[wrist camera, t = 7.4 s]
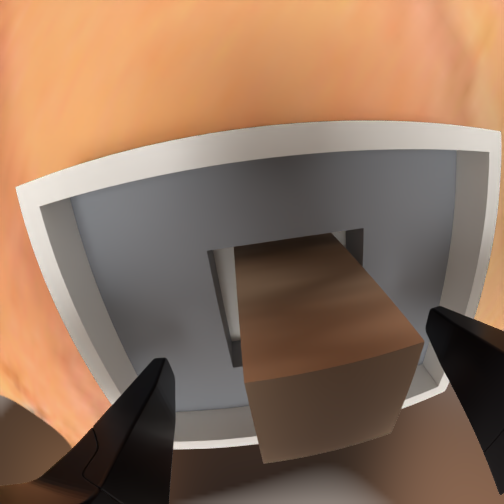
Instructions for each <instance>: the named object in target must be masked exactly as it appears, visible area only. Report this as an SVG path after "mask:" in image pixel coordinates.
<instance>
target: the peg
mask: <svg viewBox="0 0 504 504" xmlns="http://www.w3.org/2000/svg"><path fill="white" fill-rule="evenodd" d="M234 260H235V274H236V288H237V301H238V314H239V327H240V339H241V351H242V363H243V375H244V384H245V389H246V393H247V397H248V402H249V406H250V410H251V415H252V419H253V423H254V427H255V431H256V435H257V440H258V444H259V448H260V452H261V456H262V460H263V463H271V462H278V461H284V460H290V459H296V458H301V457H306V456H311V455H316V454H320V453H325V452H329V451H333V450H336V449H341V448H344V447H348V446H352V445H355V444H358V443H362V442H365V441H368V440H372V439H375V438H378V437H380V436H383V435H386V434H389V433H391V431H392V429H393V427H394V425H395V423H396V420H397V418H398V416H399V413H400V411H401V408H402V406H403V404H404V401H405V398H406V396H407V393H408V391H409V388H410V385H411V382H412V380H413V377H414V374H415V371H416V368H417V365H418V362H419V359H420V356H421V352H422V349H423V346H424V342H425V341H424V340H423V338H422V337H421V336H420V335H419V333H418V332H417V331H416V330H415V328H414V327H413V326H412V325H411V323H410V322H409V321H408V320H407V318H406V317H405V316H404V315H403V314H402V312H401V311H400V310H399V309H398V307H397V306H396V305H395V304H394V303H393V301H392V300H391V299H390V298H389V297H388V296H387V294H386V293H385V292H384V291H383V290H382V289H381V287H380V286H379V285H378V284H377V283H376V282H375V280H374V279H373V278H372V277H371V276H370V275H369V274H368V272H367V271H366V270H365V269H364V268H363V267H362V266H361V265H360V263H359V262H358V261H357V260H356V259H355V258H354V257H353V256H352V255H351V254H350V252H349V251H348V250H347V249H346V248H345V247H344V246H343V245H342V244H341V243H340V242H339V240H338V239H337V238H336V237H335V236H334V235H333V234H332V233H325V234H318V235H311V236H304V237H297V238H290V239H283V240H276V241H270V242H263V243H256V244H249V245H243V246H236V247H234Z"/></svg>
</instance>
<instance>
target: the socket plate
mask: <svg viewBox="0 0 504 504" xmlns="http://www.w3.org/2000/svg"><path fill="white" fill-rule="evenodd" d="M456 164H457V150H440V149H387V150H358V151H340V152H326V153H313V154H302V155H291V156H282V157H273V158H264V159H256V160H248V161H241V162H234V163H227V164H221V165H214V166H208V167H202V168H196V169H191V170H185V171H180V172H175V173H169V174H164V175H159V176H155V177H150V178H145V179H141V180H136V181H132V182H127V183H123V184H119V185H115V186H110V187H106V188H102V189H99V190H95V191H91V192H87V193H83V194H80V195H76V196H73V197H70V201H71V205H72V209H73V212H74V216H75V220H76V223H77V227H78V230H79V234H80V237H81V240H82V243H83V247H84V250H85V253H86V256H87V259H88V262H89V265H90V268H91V270H92V273H93V276H94V279H95V281H96V284H97V287H98V289H99V292H100V295H101V297H102V300H103V302H104V305H105V307H106V310H107V312H108V314H109V317H110V319H111V321H112V324H113V326H114V328H115V330H116V333H117V335H118V337H119V339H120V341H121V344H122V346H123V348H124V350H125V352H126V354H127V356H128V358H129V360H130V362H131V364H132V366H133V368H134V370H135V372H136V374H137V376H139V374H140V373H141V372H142V371H143V370H144V369H145V368H146V367H147V365H148V364H149V363H150V362H151V361H152V360H153V359H154V358H163V357H165V358H167V359H168V361H169V364H170V366H171V368H172V371H173V373H174V376H175V404H176V412H187V411H203V410H216V409H227V408H236V407H244V406H249V402H248V397H247V393H246V389H245V384H244V375H243V363H242V351H241V340H238V341H232V340H231V336H230V331H229V327H228V322H227V317H226V313H225V308H224V303H223V299H222V294H221V289H220V284H219V279H218V274H217V269H216V264H215V259H214V254H213V250H216V249H222V248H229V247H236V246H243V245H249V244H256V243H263V242H270V241H276V240H283V239H290V238H297V237H304V236H311V235H318V234H325V233H332V232H339V231H346V249H347V250H348V251H349V252H350V254H351V255H352V256H353V257H354V258H355V259H356V260H357V261H358V262H359V263H360V265H361V266H362V267H363V268H364V269H365V270H366V271H367V272H368V274H369V275H370V276H371V277H372V278H373V279H374V280H375V282H376V283H377V284H378V285H379V286H380V287H381V289H382V290H383V291H384V292H385V293H386V294H387V296H388V297H389V298H390V299H391V300H392V301H393V303H394V304H395V305H396V306H397V307H398V309H399V310H400V311H401V312H402V314H403V315H404V316H405V317H406V318H407V320H408V321H409V322H410V323H411V325H412V326H413V327H414V328H415V330H416V331H417V332H418V333H419V335H420V336H421V337H422V338H423V340H424V341H425V342H424V346H423V349H422V352H421V356H420V359H419V362H418V365H421V364H423V361H424V358H425V355H426V351H427V348H428V345H429V342H430V340H429V338H428V336H427V334H426V329H425V327H426V322H427V318H428V314H429V311H430V309H431V308H434V307H437V306H439V304H440V299H441V295H442V290H443V285H444V280H445V275H446V269H447V264H448V258H449V251H450V244H451V236H452V228H453V219H454V207H455V193H456ZM418 365H417V366H418Z"/></svg>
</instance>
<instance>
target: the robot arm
mask: <svg viewBox="0 0 504 504" xmlns="http://www.w3.org/2000/svg"><path fill="white" fill-rule="evenodd" d="M425 329H426V334H427V336H428V338H429V340H430V342H431V345H432V347H433V349H434V351H435V354H436V356H437V358H438V360H439V363H440V365H441V367H442V369H443V371H444V372H445V374H446V376H447V378H448V380H449V382H450V383H451V385H452V387H453V389H454V391H455V392H456V395H457V397H458V399H459V400H460V403H461V405H462V407H463V409H464V411H465V413H466V415H467V417H468V419H469V421H470V423H471V425H472V427H473V429H474V432H475V434H476V436H477V438H478V441H479V443H480V445H481V448H482V450H483V452H484V455H485V457H486V460H487V462H488V465H489V467H490V470H491V472H492V475H493V478H494V481H495V483H496V486H497V489H498V492H499V494H500V495H502V494H503V493H504V331H502V330H499V329H497V328H494V327H492V326H490V325H487V324H485V323H482V322H480V321H477V320H475V319H472V318H470V317H467V316H465V315H462V314H460V313H457V312H455V311H452V310H450V309H447V308H445V307H442V306H437V307H434V308H431V309H430V311H429V314H428V318H427V322H426V327H425ZM175 423H176V404H175V376H174V373H173V371H172V368H171V366H170V364H169V361H168V359H167V358H165V357H163V358H154V359H153V360H152V361H151V362H150V363H149V364H148V365H147V367H146V368H145V369H144V370H143V371H142V372H141V373H140V374H139V376H138V377H137V378H136V379H135V380H134V381H133V382H132V383H131V384H130V386H129V387H128V388H127V389H126V390H125V391H124V392H123V393H122V395H121V396H120V397H119V398H118V399H117V400H116V401H115V402H114V403H113V405H112V406H111V407H110V408H109V409H108V410H107V411H106V412H105V414H104V415H103V416H102V417H101V418H100V419H99V420H98V421H97V422H96V424H95V425H94V426H93V428H91V429H90V430H89V431H88V432H87V434H86V435H85V436H84V437H83V438H82V439H81V440H80V441H79V442H78V443H77V444H76V445H75V446H74V447H73V448H72V449H71V450H70V451H69V452H68V453H67V454H66V455H65V456H63V457H62V458H61V459H60V460H59V461H58V462H57V463H56V464H55V465H53V466H52V467H51V468H50V469H49V470H48V471H47V472H46V473H44V474H43V475H42V476H41V477H39V478H37V479H36V480H33V481H31V482H27V483H20V484H13V485H2V486H0V504H169V493H170V479H171V466H172V454H173V444H174V434H175Z"/></svg>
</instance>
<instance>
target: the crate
mask: <svg viewBox="0 0 504 504" xmlns="http://www.w3.org/2000/svg"><path fill="white" fill-rule="evenodd" d="M387 149H440V150H457V164H456V193H455V207H454V219H453V228H452V236H451V244H450V251H449V258H448V264H447V269H446V275H445V280H444V285H443V290H442V295H441V299H440V304H439V306H442V307H445V308H447V309H450V310H452V311H455V312H457V313H460V314H462V315H465V316H467V317H470V318H472V319H474V317H475V314H476V310H477V307H478V304H479V300H480V297H481V293H482V289H483V286H484V282H485V278H486V273H487V269H488V265H489V260H490V255H491V250H492V245H493V239H494V233H495V226H496V219H497V211H498V202H499V191H500V176H501V131H495V130H489V129H482V128H475V127H467V126H459V125H449V124H439V123H426V122H409V121H369V120H364V121H324V122H306V123H292V124H280V125H270V126H260V127H252V128H244V129H236V130H229V131H222V132H216V133H210V134H204V135H198V136H192V137H187V138H182V139H176V140H172V141H167V142H162V143H157V144H153V145H148V146H144V147H140V148H136V149H132V150H128V151H124V152H120V153H116V154H113V155H109V156H105V157H102V158H98V159H95V160H92V161H88V162H85V163H82V164H79V165H75V166H72V167H69V168H66V169H63V170H60V171H57V172H54V173H52V174H49V175H46V176H43V177H41V178H38V179H35V180H33V181H30V182H27V183H25V184H22V185H20V186H17V187H16V192H17V196H18V200H19V204H20V208H21V211H22V215H23V218H24V222H25V225H26V229H27V232H28V235H29V238H30V241H31V244H32V247H33V250H34V253H35V256H36V259H37V261H38V264H39V267H40V269H41V272H42V275H43V277H44V280H45V282H46V285H47V287H48V289H49V292H50V294H51V296H52V299H53V301H54V303H55V305H56V308H57V310H58V312H59V314H60V316H61V318H62V320H63V322H64V324H65V326H66V328H67V330H68V332H69V334H70V336H71V338H72V340H73V342H74V344H75V346H76V347H77V349H78V351H79V353H80V355H81V356H82V358H83V360H84V362H85V363H86V365H87V367H88V368H89V370H90V372H91V373H92V375H93V377H94V378H95V380H96V382H97V383H98V385H99V386H100V388H101V389H102V391H103V392H104V394H105V396H106V397H107V399H108V400H109V401H110V403H111V404H112V405H113V403H114V402H115V401H116V400H117V399H118V398H119V397H120V396H121V395H122V393H123V392H124V391H125V390H126V389H127V388H128V387H129V386H130V384H131V383H132V382H133V381H134V380H135V379H136V378H137V377H138V376H137V374H136V372H135V370H134V368H133V366H132V364H131V362H130V360H129V358H128V356H127V354H126V352H125V350H124V348H123V346H122V344H121V341H120V339H119V337H118V335H117V333H116V330H115V328H114V326H113V324H112V321H111V319H110V317H109V314H108V312H107V310H106V307H105V305H104V302H103V300H102V297H101V295H100V292H99V289H98V287H97V284H96V281H95V279H94V276H93V273H92V270H91V268H90V265H89V262H88V259H87V256H86V253H85V250H84V247H83V243H82V240H81V237H80V234H79V230H78V227H77V223H76V220H75V216H74V212H73V209H72V205H71V201H70V197H73V196H76V195H80V194H83V193H87V192H91V191H95V190H99V189H102V188H106V187H110V186H115V185H119V184H123V183H127V182H132V181H136V180H141V179H145V178H150V177H155V176H159V175H164V174H169V173H175V172H180V171H185V170H191V169H196V168H202V167H208V166H214V165H221V164H227V163H234V162H241V161H248V160H256V159H264V158H273V157H282V156H291V155H302V154H313V153H326V152H340V151H358V150H387ZM332 234H333V235H334V236H335V237H336V238H337V239H338V240H339V242H340V243H341V244H342V245H343V246H344V247H345V248H346V231H339V232H332ZM213 254H214V259H215V264H216V269H217V274H218V279H219V284H220V289H221V294H222V299H223V303H224V308H225V313H226V317H227V322H228V327H229V331H230V336H231V340H232V341H238V340H241V339H240V327H239V314H238V301H237V288H236V274H235V260H234V247H229V248H222V249H216V250H213ZM448 384H449V380H448V378H447V376H446V374H445V372H444V371H443V369H442V367H441V365H440V363H439V360H438V358H437V356H436V354H435V351H434V349H433V347H432V345H431V342H429V345H428V348H427V351H426V355H425V358H424V361H423V364H421V365H418V366H417V368H416V371H415V374H414V377H413V380H412V382H411V385H410V388H409V391H408V393H407V396H406V398H405V401H404V404H403V406H402V408H405V407H408V406H410V405H413V404H415V403H418V402H421V401H423V400H425V399H428V398H430V397H432V396H435V395H437V394H439V393H442V392H444V391H445V390H446V388H447V386H448ZM402 408H401V409H402ZM252 444H258V440H257V435H256V431H255V427H254V423H253V419H252V415H251V410H250V406H244V407H236V408H227V409H216V410H203V411H187V412H176V423H175V434H174V444H173V449H204V448H221V447H233V446H243V445H252Z"/></svg>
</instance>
